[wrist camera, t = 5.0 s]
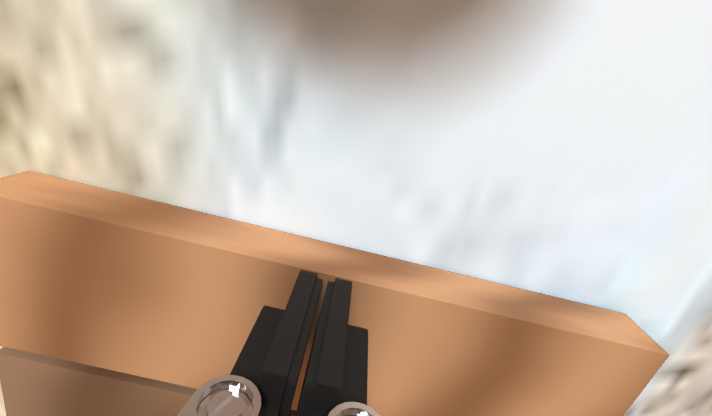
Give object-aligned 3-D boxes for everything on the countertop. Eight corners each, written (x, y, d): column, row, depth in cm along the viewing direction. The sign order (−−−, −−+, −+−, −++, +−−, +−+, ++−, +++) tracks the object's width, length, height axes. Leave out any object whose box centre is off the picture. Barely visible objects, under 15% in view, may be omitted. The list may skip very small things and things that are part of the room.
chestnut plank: (625, 313, 13) (669, 354, 11) (553, 422, 15) (579, 472, 13) (28, 170, 12) (-38, 188, 10) (45, 308, 14) (-6, 344, 12)
